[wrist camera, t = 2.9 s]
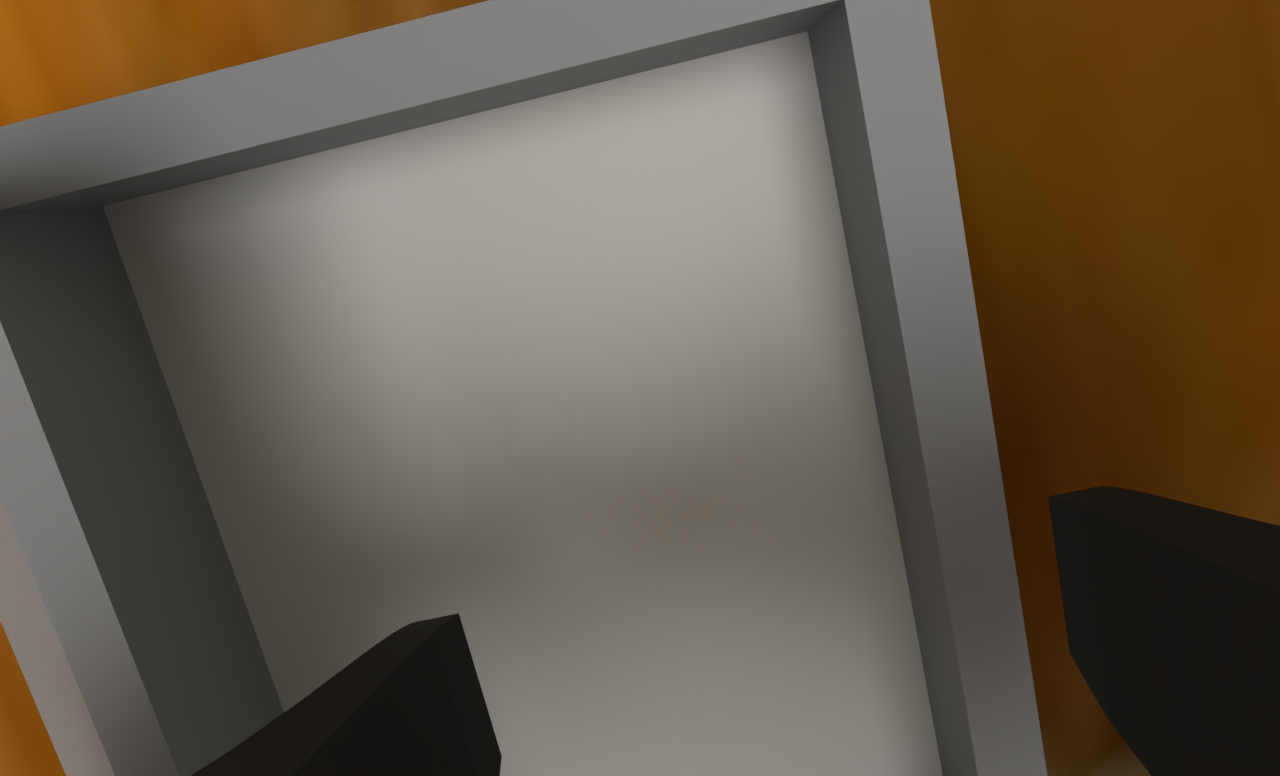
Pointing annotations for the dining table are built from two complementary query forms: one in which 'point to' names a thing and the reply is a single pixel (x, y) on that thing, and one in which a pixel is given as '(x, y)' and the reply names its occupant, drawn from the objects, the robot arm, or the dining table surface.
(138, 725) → the carton flap
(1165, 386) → the dining table surface
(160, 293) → the gray open box
